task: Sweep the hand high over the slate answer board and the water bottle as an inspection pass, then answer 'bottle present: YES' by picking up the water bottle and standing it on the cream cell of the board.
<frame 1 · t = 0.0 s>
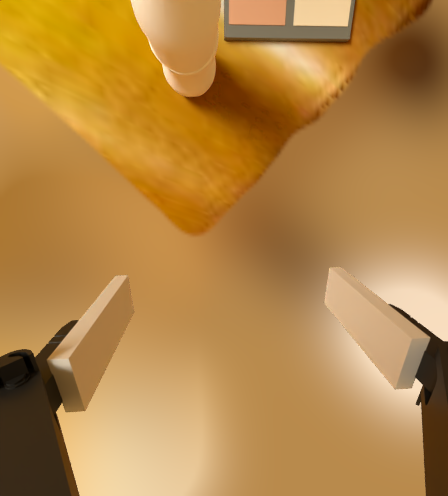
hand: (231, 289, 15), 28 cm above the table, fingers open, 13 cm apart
water bottle: (191, 74, 34), on the table
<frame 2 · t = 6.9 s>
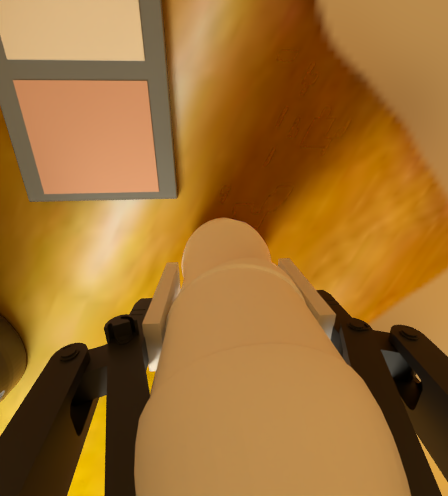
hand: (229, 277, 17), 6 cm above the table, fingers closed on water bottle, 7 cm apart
answer board: (85, 74, 17), on the table
water bottle: (223, 247, 23), on the table, touching gripper
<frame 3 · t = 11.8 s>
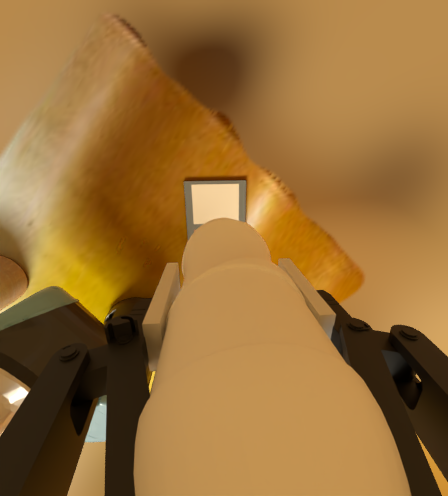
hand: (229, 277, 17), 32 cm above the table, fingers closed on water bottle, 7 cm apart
answer board: (216, 225, 48), on the table
water bottle: (223, 247, 23), point 26 cm above the table, touching gripper
planter: (3, 276, 50), on the table
when the fingers open (8 cm above the table, at t = 16.5 s): water bottle stays where it is, resting on answer board.
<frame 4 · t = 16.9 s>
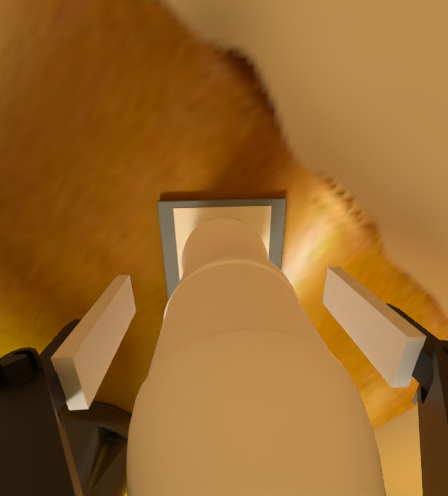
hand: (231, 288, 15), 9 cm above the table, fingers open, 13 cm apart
answer board: (223, 282, 25), on the table
water bottle: (222, 245, 23), point 1 cm above the table, touching answer board
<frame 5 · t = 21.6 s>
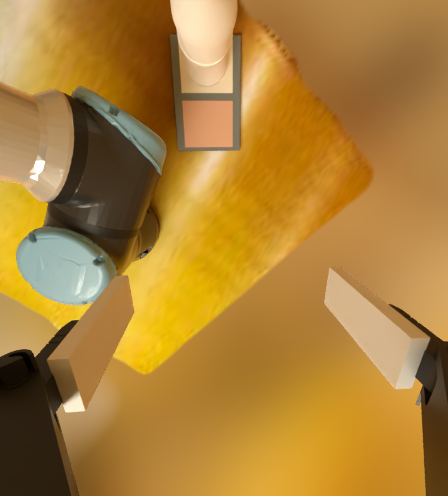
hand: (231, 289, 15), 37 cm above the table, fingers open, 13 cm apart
answer board: (207, 98, 43), on the table
water bottle: (205, 67, 41), point 1 cm above the table, touching answer board
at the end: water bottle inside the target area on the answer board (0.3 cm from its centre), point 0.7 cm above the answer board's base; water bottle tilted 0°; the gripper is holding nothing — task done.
